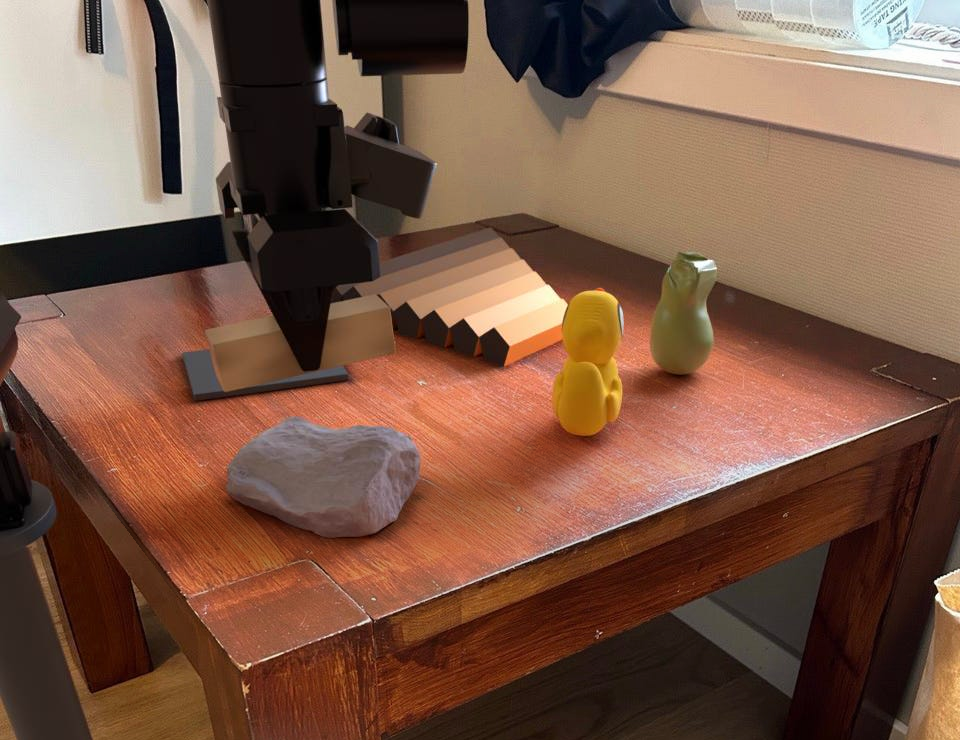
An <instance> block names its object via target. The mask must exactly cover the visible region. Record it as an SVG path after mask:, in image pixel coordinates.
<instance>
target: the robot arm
mask: <svg viewBox="0 0 960 740" xmlns="http://www.w3.org/2000/svg"><path fill="white" fill-rule="evenodd" d="M331 1H332V2H331V3H332V14H333V26H334V34H335V44H336V50H337V52H336V53H337V56H349V54H350V55H351V60H353V61H355V60H356V61H357V67H358V73H359V77H388V76H390V77H391V76H392V77H393V76H420V75H421V76H423V75H424V76H427V75H453V74H454V75H458V74H459V75H460V74H463V73H464V72H465V70H466V65H467V60H468V50H469V30H470V29H469V23H470V22H469V19H470V17H469V14H470V13H469V0H331ZM206 2H207V9H208V16H209V23H210V29H211V35H212V36H211V37H212V43H213V50H214V57H215V64H216V71H217V77H218V86H219V92H220V96H216V101H217V106H218V107H217V108H218V113H219V118H220V120H221V121H222V122H223V124H224V127H225V133H226V141H227V147H228V153H229V154H228V155H229V161H228V162H226V163H225V165H224V167H223V168H222V169H221V171H219V173H218V174H217V176H216V177H215V184H216V190H217V197H218V204H219V210H220V212H221V214H222V216H223V218H224V219H226V220H227V219H235V209H238V210H239V211H240V213H241V214H242V218H243V224H244V227H242V228H236V229H232V230H231V231H230V233H231V237H232V239H233V240H234V242H235V244H236V245H235V246H236V247H237V249H238V250H239V252H240V254H241V256H242V257H243V258H242V259H243V261H244V262H245V264H246V266H247V268H248V270H249V272H250V274H251V276H252V278H253V279H254V282H255V283H256V286H257V287H258V289H259V291H260V293H261V295H262V297H263V299H264V300H265V302H266V305H267V306H268V308H269V311H270V312H271V314H272V316H274V318H275V320H276V322H277V324H278V326H279V327H280V329H281V331H282V333H283V335H284V337H285V339H286V341H287V342H288V344H289V346H290V348H291V350H292V352H293V354H294V356H295V358H296V360H297V362H298V364H299V365H300V367H301V369H302V371H304V372H308V371H316V370H318V369H319V368H320V366H321V359H322V353H323V347H324V340H325V334H326V328H327V321H328V316H329V310H330V304H331V300H332V295H333V292H334V290H335V288H336V287H337V286H338V285H345V284H354V283H363V282H372V281H374V280H376V279H378V278H380V266H379V263H380V251H379V241H378V240H377V238H376V237H374V236H373V234H372V233H371V232H370V231H369V229H367V228H366V227H365V226H364V225H363V224H362V223H361V222H360V221H359V220H358V219H357V218H356V217H355V216H354V215H352V214H351V213H350V212H349V211H348V210H347V209H351V208H353V205H354V204H353V196H354V197H357V198H359V199H362V200H365V201H369V202H371V203H374V204H375V203H376V204H378V205H382V206H385V207H389V208H392V209H394V210H398V211H400V212H401V214H402V215H403V216H405V217H409V218H413V219H422V217H423V214H424V212H425V207H426V204H427V201H428V197H429V193H430V190H431V186H432V183H433V179H434V175H435V172H436V169H437V165H438V163H437V162H436V161H435V160H434V159H432V158H430V157H429V156H427V155H426V154H424V153H423V152H421V151H419V150H417V149H414V148H412V147H411V146H409V145H407V144H405V143H404V144H401V143H400V141H399V136H398V129H397V125H396V124H395V122H393V121H391V120H390V119H388V118H385V117H382V116H379V115H376V114H373V113H370V112H365V113H364V115H363V116H362V117H361V119H359V121H358V123H357V124H356V125H355V126H350V125H346V126H345V117H344V116H345V115H344V112H343V109H342V108H341V107H339V106H338V104H337V103H336V102H335V101H333V100H332V99H331V98H330V96H329V86H328V85H329V84H328V73H327V62H326V52H325V51H326V50H325V39H324V38H325V37H324V27H323V16H322V15H323V14H322V4H321V0H206ZM327 208H329V210H324V209H327ZM21 319H22V315H21V314H20V313H19V312H18V311H17V310H16V309H15V308H14V307H13V306H12V305H11V304H10V302H9V301H8V299H7V297H6V296H5V295H4V292H3V290H2V288H1V286H0V387H1V386H2V384H3V382H4V380H5V378H6V377H7V375H8V373H9V371H10V370H11V368H12V366H13V363H14V361H15V359H16V357H17V355H18V350H19V338H18V334H17V331H16V327H17V326H18V324H19V323H20V321H21ZM31 480H32V479H31V476H30V473H29V470H28V467H27V464H26V461H25V457H24V454H23V451H22V448H21V444H20V441H19V437H18V435H17V432H15V431H13V430H7V431H6V428H5V424H4V421H3V418H2V416H1V414H0V531H3V530H9V529H15V528H20V527H22V526H24V525H25V524H26V510H27V506H28V505H30V503H31V502H32V482H31Z"/></svg>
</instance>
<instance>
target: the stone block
mask: <svg viewBox="0 0 960 740" xmlns="http://www.w3.org/2000/svg"><path fill="white" fill-rule="evenodd" d="M421 459H422V458H421V453H420V451H419V450H418V448H417V445H416V444H415V442H414V441H413V438H412V437H411V435H407V433H403V432H401V431H398V430H396V428H394V427H391V426H385V425H377V426H376V425H362V424H357V425H354V426H351V427H345V428H330V427H329V426H326V425H316V424H314V423H312V422H310V421H309V420H307V419H306V418H304V417H302V416H295V415H293V416H288V417H286V418H284V419H283V420H281V421H280V422H279V423H277V424H276V425H275V426H272V427H270V428H267V429H265V430H263V431H262V432H261V433H259V434H257V435H255V436H254V437H253V438H252V439H251V440H249V441H247V442H246V444H244V445H243V446H241V448H239V450H238V451H237V452H236V454H235V455H234V457H233V458H232V459H231V460H230V462H229V463H228V465H227V467H226V478H227V481H226V487H225V490H226V491H225V492H226V494H228V495H229V496H231V497H232V499H233V500H235V501H237V502H239V503H241V504H242V505H243V506H247V507H249V508H251V509H255V510H257V511H260V512H261V513H264V514H266V515H271V516H274V517H276V518H277V519H278V520H280V521H282V522H284V523H286V524H288V525H290V526H293V527H296V528H298V529H302V530H305V531H311V532H312V533H313V534H315V535H319V536H320V537H322V538H329V539H330V538H331V539H335V538H349V537H351V538H360V537H365V536H369V535H373V534H376V533H378V532H379V531H381V530H382V529H383V528H385V527H386V526H388V525H390V524H392V523H393V522H396V521H397V519H398V517H399V514H400V513H401V511H402V509H403V506H404V505H405V503H406V502H407V501H408V500H409V499H410V496H411V494H412V492H413V490H414V489H415V488H416V487H417V485H418V483H419V482H420V474H421V473H420V471H421Z"/></svg>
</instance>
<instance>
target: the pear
mask: <svg viewBox="0 0 960 740" xmlns="http://www.w3.org/2000/svg"><path fill="white" fill-rule="evenodd" d="M677 252H678V253H677V254H676V257H675V259H673V260H672V264H671V265H669V267H667V269H666V271H665V274H664V276H663V279H662V283H661V296H660V299H659V301H658V303H657V304H656V307H655V309H654V312H653V316H652V320H651V325H650V331H649V350H650V355H651V358H652V360H653V361H654V363H655V365H656V366H657V367H659V368H660V369H661V370H663V371H664V372H666V373H669V374H673V375H680V376H681V375H688V374H691V373H695V372H697V371H698V370H700V369H701V368H703V366H704V365H705V364H707V362H708V360H709V359H710V357H711V355H712V352H713V349H714V343H715V338H714V332H713V331H714V330H713V326H712V323H711V320H710V316H709V313H708V311H707V310H708V309H707V298H708V297H709V294H710V292H711V291H712V289H713V287H714V285H715V283H716V280H717V272H718V268H717V264H716V262H715V260H713V259H709V258H708V257H706V256H704V255H703V254H701V253H699V252H682V251H677Z"/></svg>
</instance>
